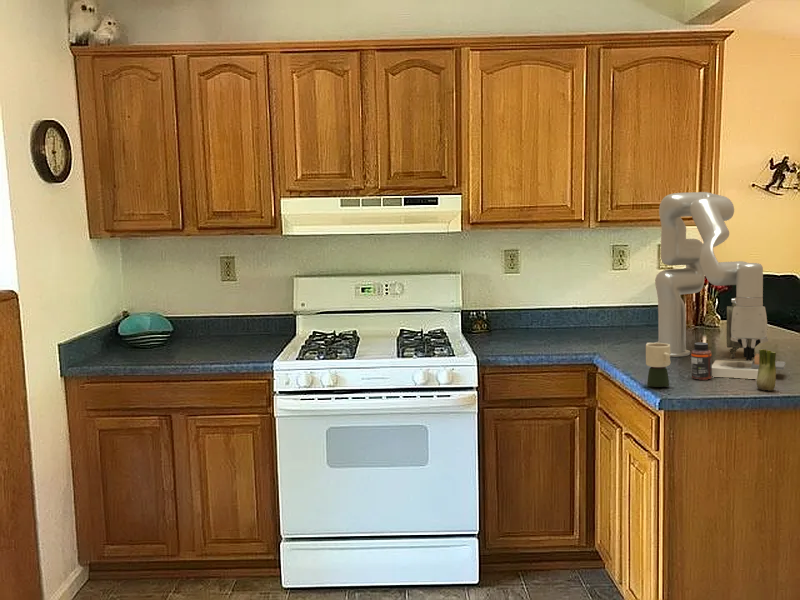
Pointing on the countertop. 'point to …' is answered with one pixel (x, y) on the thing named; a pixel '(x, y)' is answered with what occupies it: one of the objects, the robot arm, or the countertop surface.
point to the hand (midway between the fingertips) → (749, 359)
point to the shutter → (778, 363)
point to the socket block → (734, 369)
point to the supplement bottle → (701, 362)
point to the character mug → (658, 364)
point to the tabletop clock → (731, 343)
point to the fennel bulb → (766, 370)
